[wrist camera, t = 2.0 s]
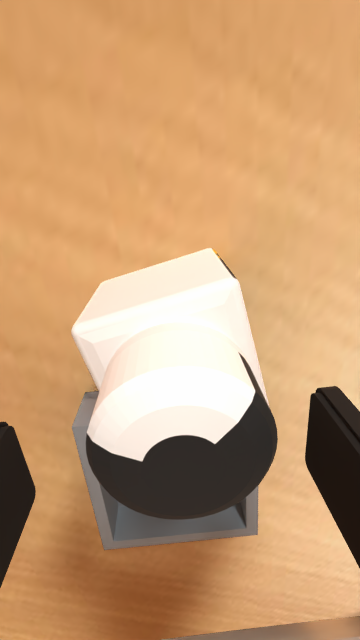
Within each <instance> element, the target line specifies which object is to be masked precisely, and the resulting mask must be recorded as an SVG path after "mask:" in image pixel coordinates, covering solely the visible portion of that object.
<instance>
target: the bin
mask: <svg viewBox="0 0 360 640" xmlns="http://www.w3.org/2000/svg"><path fill="white" fill-rule="evenodd" d="M98 395H99V391H95V392H85V394H84V397H83V399H82V402H81V405H80V407H79V410H78V412H77V415H76V418H75V420H74V423H73V426H72V430H73V434H74V437H75V441H76V445H77V449H78V453H79V456H80V460H81V464H82V468H83V472H84V475H85V479H86V483H87V487H88V491H89V494H90V498H91V502H92V506H93V510H94V513H95V517H96V521H97V525H98V529H99V532H100V536H101V540H102V544H103V548H104V550H109V549H119V548H129V547H140V546H150V545H160V544H170V543H180V542H190V541H200V540H210V539H220V538H230V537H240V536H250V535H258V486H257V487H256V488H255V489H254V490H253V491H252V492H251V493H250V494H249V495H248V496H247V497H245V498H244V499H243V500H241V501H240V502H238V503H237V504H235V505H233V506H232V507H230V508H228V509H226V510H223V511H221V512H218V513H216V514H212V515H209V516H205V517H200V518H194V519H184V520H172V519H162V518H156V517H152V516H147V515H144V514H141V513H138V512H136V511H134V510H132V509H130V508H128V507H126V506H124V505H123V504H121V503H120V502H118V501H117V500H116V499H115V498H113V497H112V496H111V495H110V494H109V493H108V492H107V491H106V490H105V489H104V487H103V486H102V485H101V484H100V483H99V481H98V480H97V478H96V477H95V475H94V474H93V472H92V470H91V467H90V465H89V462H88V458H87V454H86V435H87V430H88V427H89V423H90V420H91V417H92V414H93V411H94V407H95V404H96V401H97V398H98Z"/></svg>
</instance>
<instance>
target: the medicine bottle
mask: <svg viewBox="0 0 360 640" xmlns="http://www.w3.org/2000/svg"><path fill="white" fill-rule="evenodd" d="M71 333H72V337H73V339H74V341H75V343H76V345H77V347H78V349H79V351H80V353H81V355H82V358H83V360H84V362H85V364H86V366H87V368H88V370H89V372H90V374H91V376H92V378H93V380H94V382H95V384H96V387H97V389H98V391H99V395H98V398H97V401H96V404H95V407H94V411H93V414H92V417H91V420H90V423H89V427H88V430H87V435H86V454H87V458H88V462H89V465H90V467H91V470H92V472H93V474H94V475H95V477H96V478H97V480H98V481H99V483H100V484H101V485H102V486H103V487H104V489H105V490H106V491H107V492H108V493H109V494H110V495H111V496H112V497H113V498H115V499H116V500H117V501H118V502H120V503H121V504H123V505H124V506H126V507H128V508H130V509H132V510H134V511H136V512H138V513H141V514H144V515H147V516H152V517H156V518H162V519H172V520H184V519H194V518H200V517H205V516H209V515H212V514H216V513H218V512H221V511H223V510H226V509H228V508H230V507H232V506H233V505H235V504H237V503H238V502H240V501H241V500H243V499H244V498H245V497H247V496H248V495H249V494H250V493H251V492H252V491H253V490H254V489H255V488H256V487H257V486H258V485H259V484H260V482H261V481H262V479H263V478H264V476H265V475H266V473H267V471H268V470H269V468H270V466H271V464H272V462H273V459H274V456H275V453H276V448H277V428H276V424H275V419H274V417H273V415H272V413H271V410H270V407H269V403H268V399H267V395H266V391H265V387H264V383H263V378H262V374H261V370H260V366H259V362H258V358H257V354H256V350H255V345H254V341H253V337H252V333H251V329H250V325H249V321H248V317H247V313H246V308H245V304H244V300H243V296H242V292H241V288H240V284H239V282H238V280H237V279H236V277H235V276H234V275H233V273H232V272H231V271H230V270H229V268H228V267H227V266H226V264H225V263H224V262H223V260H222V259H221V258H220V256H219V255H218V254H217V253H216V251H215V250H214V249H212V248H208V249H205V250H202V251H198V252H195V253H192V254H189V255H186V256H183V257H179V258H176V259H173V260H170V261H167V262H163V263H160V264H157V265H154V266H151V267H148V268H144V269H141V270H138V271H135V272H132V273H128V274H125V275H122V276H119V277H116V278H112V279H109V280H106V281H103V282H102V283H101V284H100V285H99V287H98V288H97V290H96V292H95V293H94V295H93V296H92V298H91V299H90V301H89V302H88V304H87V305H86V307H85V309H84V310H83V312H82V313H81V315H80V316H79V318H78V319H77V321H76V322H75V324H74V326H73V327H72V330H71Z"/></svg>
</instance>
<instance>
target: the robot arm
mask: <svg viewBox="0 0 360 640" xmlns="http://www.w3.org/2000/svg"><path fill="white" fill-rule="evenodd" d="M305 460H306V465H307V468H308V470H309V472H310V474H311V476H312V478H313V480H314V482H315V484H316V485H317V487H318V489H319V491H320V493H321V495H322V497H323V499H324V501H325V503H326V505H327V507H328V508H329V510H330V512H331V514H332V516H333V518H334V520H335V522H336V524H337V526H338V528H339V530H340V531H341V533H342V535H343V537H344V539H345V541H346V543H347V545H348V547H349V549H350V551H351V553H352V554H353V556H354V558H355V560H356V562H357V564H358V566H359V568H360V412H359V410H358V409H357V408H356V407H355V406H354V405H353V404H352V402H351V401H350V400H349V399H348V398H347V397H346V396H345V394H344V393H343V392H342V391H341V390H340V389H339V388H338V387H336V386H333V387H323V388H318V389H317V390H316V393H313V394H311V398H310V409H309V420H308V431H307V442H306V453H305ZM34 499H35V486H34V483H33V480H32V478H31V475H30V472H29V469H28V466H27V464H26V461H25V458H24V455H23V452H22V450H21V447H20V444H19V441H18V438H17V436H16V433H15V430H14V428H13V427H12V426H8V424H7V423H6V422H0V588H1V585H2V582H3V580H4V577H5V575H6V572H7V569H8V567H9V564H10V562H11V559H12V557H13V554H14V551H15V549H16V546H17V544H18V541H19V538H20V536H21V533H22V531H23V528H24V525H25V523H26V520H27V518H28V515H29V513H30V510H31V507H32V505H33V502H34ZM162 640H360V616H356V617H346V618H336V619H327V620H318V621H310V622H302V623H293V624H285V625H277V626H268V627H260V628H251V629H243V630H235V631H226V632H218V633H210V634H202V635H194V636H186V637H178V638H170V639H162Z"/></svg>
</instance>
